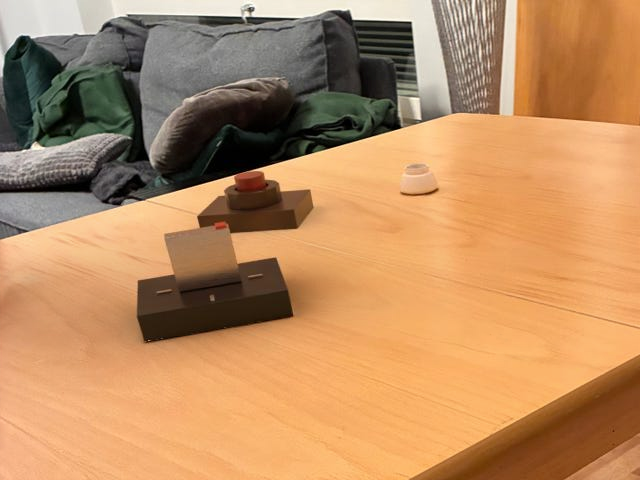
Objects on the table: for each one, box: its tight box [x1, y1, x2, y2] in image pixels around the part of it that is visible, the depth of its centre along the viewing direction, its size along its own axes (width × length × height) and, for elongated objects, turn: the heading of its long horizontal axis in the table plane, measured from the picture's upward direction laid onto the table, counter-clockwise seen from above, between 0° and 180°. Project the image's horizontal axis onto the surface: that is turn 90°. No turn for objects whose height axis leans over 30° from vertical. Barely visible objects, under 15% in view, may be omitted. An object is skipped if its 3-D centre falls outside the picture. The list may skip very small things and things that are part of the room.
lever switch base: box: [136, 256, 294, 342], centre depth 94 cm, size 14×11×3 cm
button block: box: [196, 179, 315, 234], centre depth 118 cm, size 12×9×4 cm
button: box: [233, 170, 267, 192], centre depth 117 cm, size 4×4×2 cm
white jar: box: [398, 162, 440, 196], centre depth 124 cm, size 5×3×5 cm
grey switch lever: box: [163, 222, 241, 292], centre depth 92 cm, size 6×2×5 cm, turn 105°
